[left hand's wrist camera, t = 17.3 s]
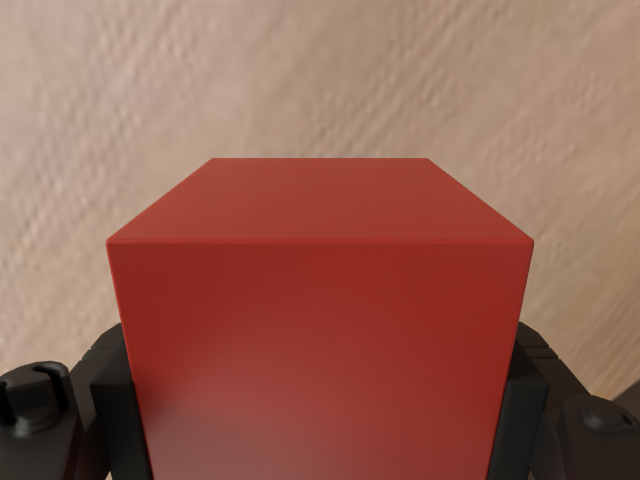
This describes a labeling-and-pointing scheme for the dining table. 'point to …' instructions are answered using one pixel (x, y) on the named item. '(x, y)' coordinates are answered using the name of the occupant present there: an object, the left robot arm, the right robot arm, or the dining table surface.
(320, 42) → the dining table surface
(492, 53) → the dining table surface
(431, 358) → the cube
